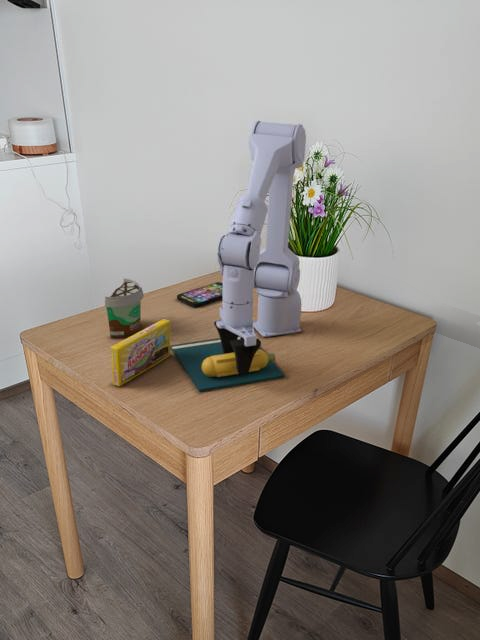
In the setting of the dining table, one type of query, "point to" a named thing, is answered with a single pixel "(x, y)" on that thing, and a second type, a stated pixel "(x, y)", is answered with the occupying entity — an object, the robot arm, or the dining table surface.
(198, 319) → the dining table surface
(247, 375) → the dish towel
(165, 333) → the candy box
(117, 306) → the food container
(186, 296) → the smartphone
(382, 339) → the dining table surface
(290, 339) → the dining table surface
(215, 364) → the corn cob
